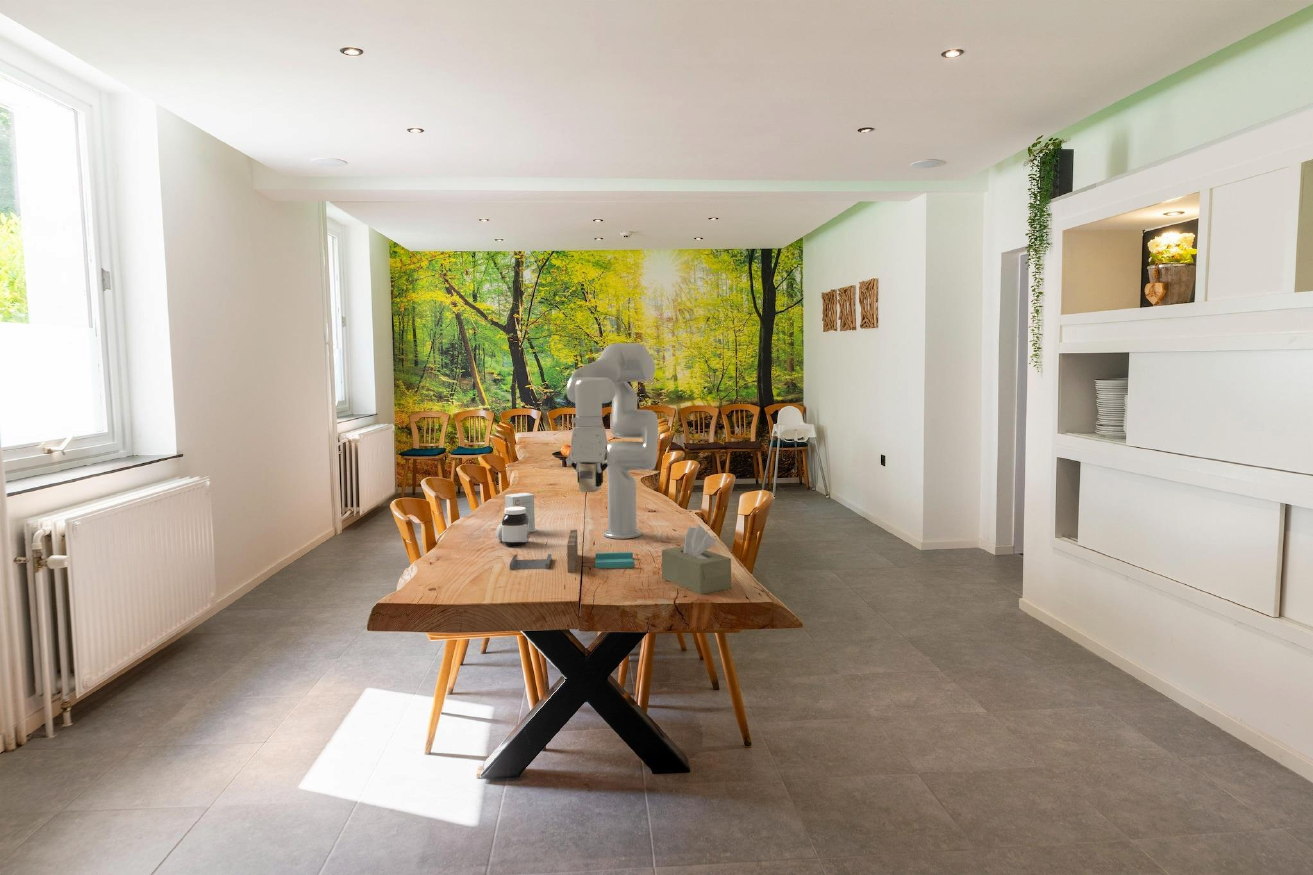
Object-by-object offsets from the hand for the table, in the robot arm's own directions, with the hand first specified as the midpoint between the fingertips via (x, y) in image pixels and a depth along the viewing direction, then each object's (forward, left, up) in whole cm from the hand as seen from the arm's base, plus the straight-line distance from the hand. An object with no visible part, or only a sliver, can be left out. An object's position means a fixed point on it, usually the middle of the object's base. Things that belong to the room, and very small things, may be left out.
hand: (590, 485), depth 234 cm
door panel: (0, -6, -23) cm, 24 cm away
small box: (-46, -26, -23) cm, 57 cm away
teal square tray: (0, +6, -23) cm, 24 cm away
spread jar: (-29, -27, -23) cm, 46 cm away
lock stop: (0, 0, -2) cm, 2 cm away
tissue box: (+23, +28, -23) cm, 43 cm away
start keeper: (0, -18, -23) cm, 29 cm away
